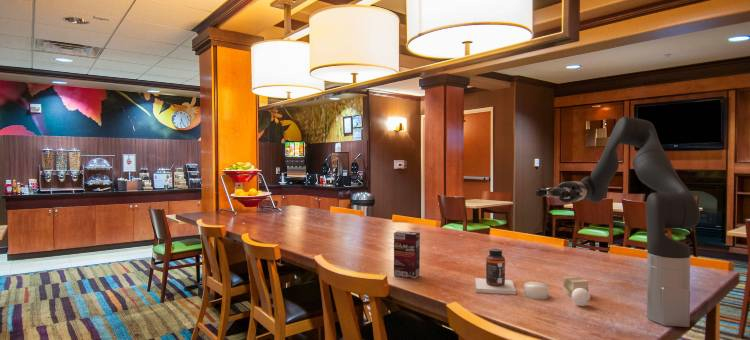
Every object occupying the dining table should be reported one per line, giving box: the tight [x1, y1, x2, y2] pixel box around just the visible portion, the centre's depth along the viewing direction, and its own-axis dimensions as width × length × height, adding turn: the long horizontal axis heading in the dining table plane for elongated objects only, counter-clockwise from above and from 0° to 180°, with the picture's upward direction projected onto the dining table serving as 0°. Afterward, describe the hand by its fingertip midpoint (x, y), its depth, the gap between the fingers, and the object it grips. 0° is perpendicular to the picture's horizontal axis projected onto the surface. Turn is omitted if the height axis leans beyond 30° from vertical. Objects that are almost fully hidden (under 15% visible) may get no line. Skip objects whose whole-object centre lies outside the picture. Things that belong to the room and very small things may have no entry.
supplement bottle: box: [485, 248, 506, 286], centre depth 141 cm, size 6×6×11 cm
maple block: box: [562, 276, 589, 298], centre depth 133 cm, size 5×5×5 cm
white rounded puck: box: [523, 281, 550, 300], centre depth 133 cm, size 7×7×4 cm
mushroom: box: [571, 288, 591, 307], centre depth 124 cm, size 5×5×5 cm
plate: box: [474, 277, 517, 295], centre depth 141 cm, size 12×12×1 cm
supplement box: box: [393, 230, 421, 279], centre depth 156 cm, size 9×5×16 cm, turn 65°
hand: (548, 194), depth 148 cm, fingers open, 8 cm apart
